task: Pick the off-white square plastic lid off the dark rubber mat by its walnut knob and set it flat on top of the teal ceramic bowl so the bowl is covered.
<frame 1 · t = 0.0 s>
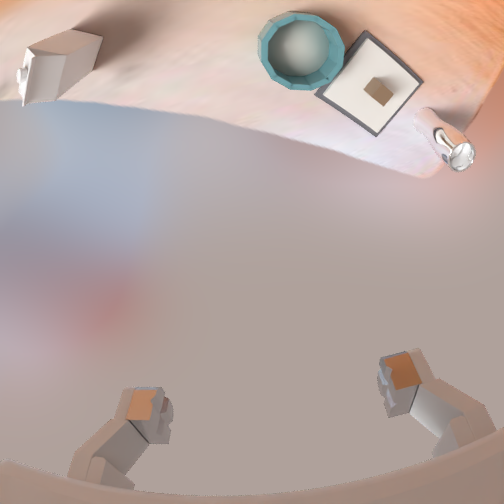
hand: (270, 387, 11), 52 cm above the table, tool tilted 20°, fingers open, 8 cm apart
lid: (372, 86, 51), point 1 cm above the table, touching mat
bowl: (296, 46, 46), on the table
milk carton: (81, 49, 42), on the table
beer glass: (424, 119, 56), on the table
mat: (371, 85, 51), on the table
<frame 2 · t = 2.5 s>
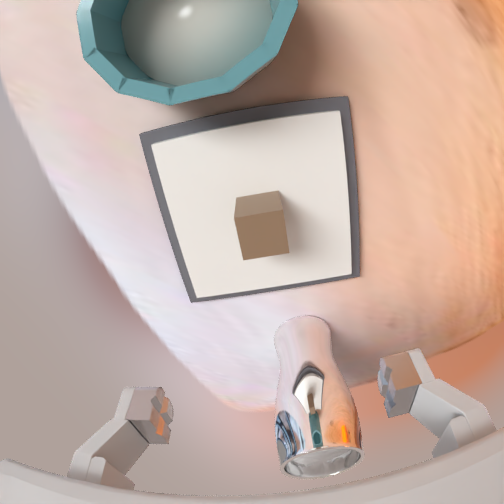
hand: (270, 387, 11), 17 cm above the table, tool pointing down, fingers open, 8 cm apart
lid: (260, 209, 26), point 1 cm above the table, touching mat
bowl: (195, 18, 19), on the table
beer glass: (302, 335, 33), on the table
mat: (260, 206, 26), on the table
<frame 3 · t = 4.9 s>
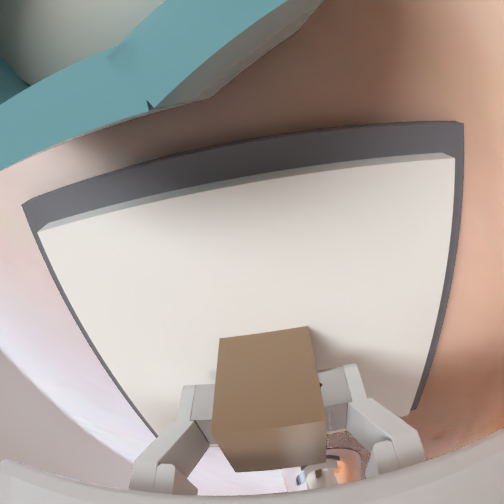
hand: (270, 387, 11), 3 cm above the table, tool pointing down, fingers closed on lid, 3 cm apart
lid: (268, 347, 13), point 1 cm above the table, touching gripper, mat
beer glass: (320, 462, 20), on the table
mat: (267, 337, 13), on the table
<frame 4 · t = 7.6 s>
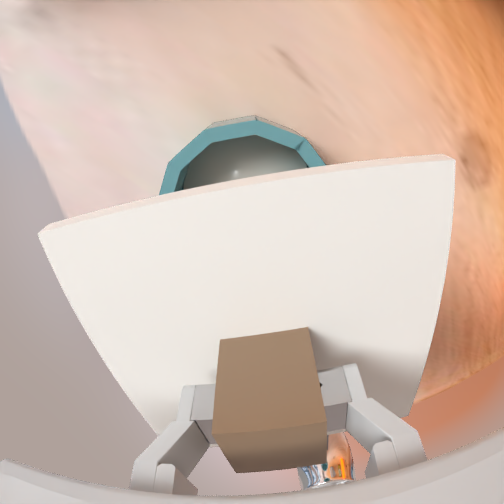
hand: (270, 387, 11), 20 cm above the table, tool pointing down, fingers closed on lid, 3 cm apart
lid: (268, 348, 13), point 18 cm above the table, touching gripper
bowl: (247, 190, 28), on the table
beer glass: (313, 397, 42), on the table
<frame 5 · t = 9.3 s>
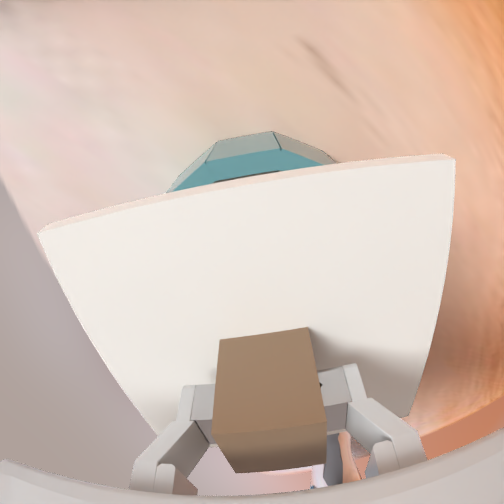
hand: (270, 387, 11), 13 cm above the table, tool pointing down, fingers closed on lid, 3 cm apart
lid: (268, 348, 13), point 11 cm above the table, touching gripper
bowl: (262, 228, 22), on the table
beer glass: (328, 434, 37), on the table
when the fingers open (10 cm above the table, at t = 10.7 s): lid drops 1 cm, resting on bowl.
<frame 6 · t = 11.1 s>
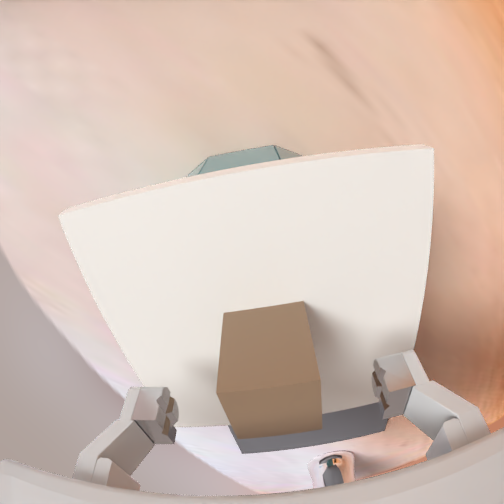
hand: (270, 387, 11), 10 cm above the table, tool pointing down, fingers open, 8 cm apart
lid: (268, 323, 14), point 6 cm above the table, touching bowl
bowl: (261, 257, 19), on the table
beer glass: (330, 459, 34), on the table
mat: (311, 404, 27), on the table
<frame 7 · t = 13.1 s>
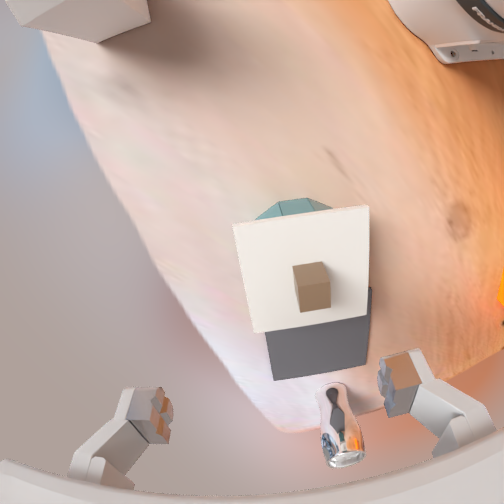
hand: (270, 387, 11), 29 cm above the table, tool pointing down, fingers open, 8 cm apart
lid: (306, 272, 35), point 6 cm above the table, touching bowl
bowl: (298, 248, 41), on the table
milk carton: (119, 8, 26), on the table
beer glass: (330, 391, 55), on the table
mat: (318, 338, 48), on the table
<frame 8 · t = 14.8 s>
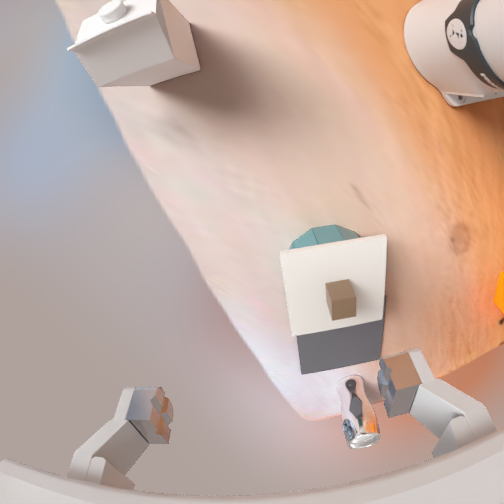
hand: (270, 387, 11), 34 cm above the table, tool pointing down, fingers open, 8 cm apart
lid: (335, 287, 43), point 6 cm above the table, touching bowl
bowl: (326, 265, 48), on the table
milk carton: (168, 53, 34), on the table
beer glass: (349, 382, 63), on the table
mat: (341, 337, 56), on the table
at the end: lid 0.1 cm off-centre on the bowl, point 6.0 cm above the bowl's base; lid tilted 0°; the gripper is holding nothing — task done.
